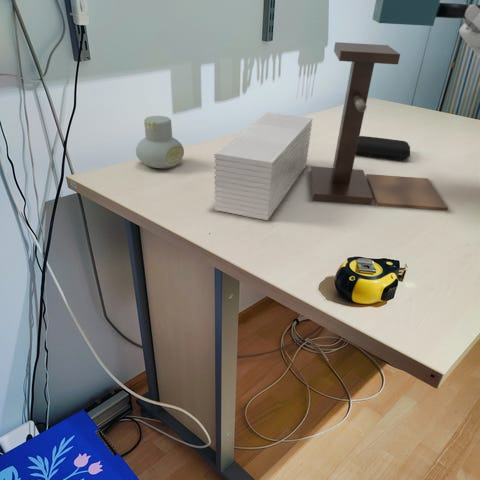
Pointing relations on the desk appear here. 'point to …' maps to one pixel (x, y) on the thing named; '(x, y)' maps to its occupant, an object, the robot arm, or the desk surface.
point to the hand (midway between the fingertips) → (464, 8)
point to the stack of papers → (261, 165)
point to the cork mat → (404, 192)
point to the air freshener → (159, 144)
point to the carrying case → (383, 148)
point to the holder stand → (351, 127)
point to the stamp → (416, 11)
